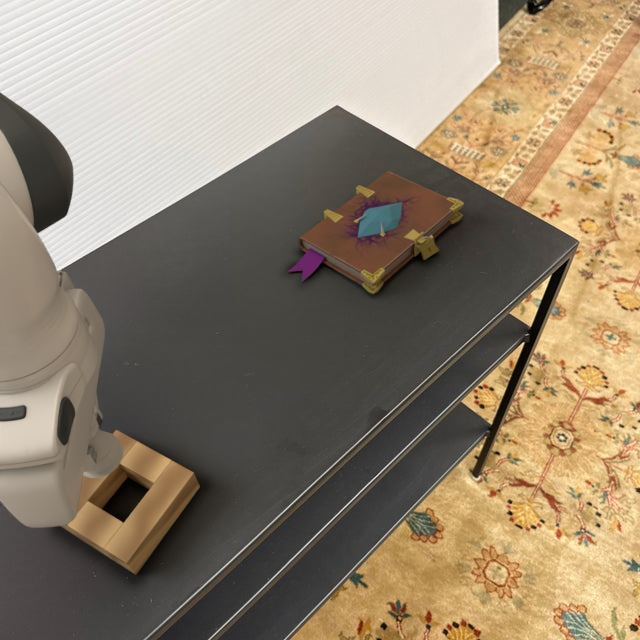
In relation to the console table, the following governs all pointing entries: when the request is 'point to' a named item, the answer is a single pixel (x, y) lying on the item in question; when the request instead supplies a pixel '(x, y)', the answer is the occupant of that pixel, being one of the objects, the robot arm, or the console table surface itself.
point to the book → (378, 231)
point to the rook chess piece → (103, 451)
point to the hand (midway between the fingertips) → (90, 444)
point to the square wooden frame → (149, 515)
